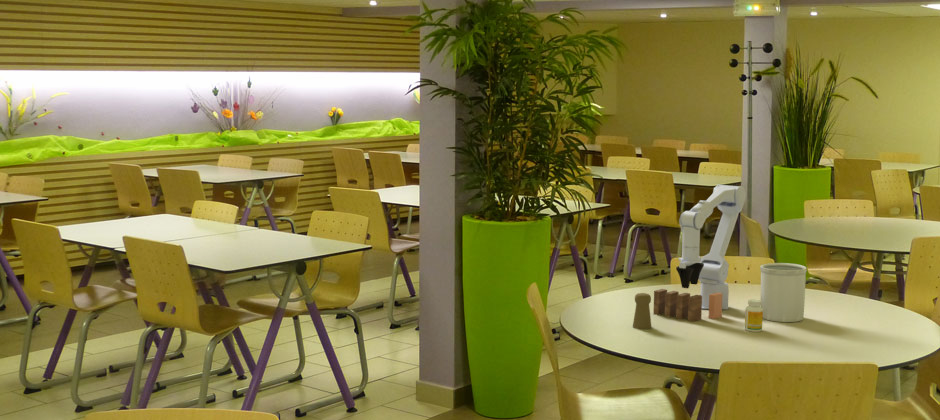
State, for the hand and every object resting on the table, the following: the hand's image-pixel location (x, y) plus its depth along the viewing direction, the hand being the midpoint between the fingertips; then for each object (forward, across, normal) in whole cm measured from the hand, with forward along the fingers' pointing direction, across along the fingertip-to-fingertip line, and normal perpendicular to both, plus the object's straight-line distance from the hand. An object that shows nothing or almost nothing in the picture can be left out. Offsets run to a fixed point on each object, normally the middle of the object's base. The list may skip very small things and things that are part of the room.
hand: (689, 286), depth 336 cm
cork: (+10, +27, -5) cm, 29 cm away
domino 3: (+10, +7, 0) cm, 12 cm away
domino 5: (+10, 0, +9) cm, 13 cm away
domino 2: (+10, +6, -4) cm, 12 cm away
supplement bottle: (+10, +10, +26) cm, 29 cm away
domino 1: (+10, +5, -8) cm, 14 cm away
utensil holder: (+10, -12, +28) cm, 32 cm away
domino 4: (+10, +7, +5) cm, 13 cm away
